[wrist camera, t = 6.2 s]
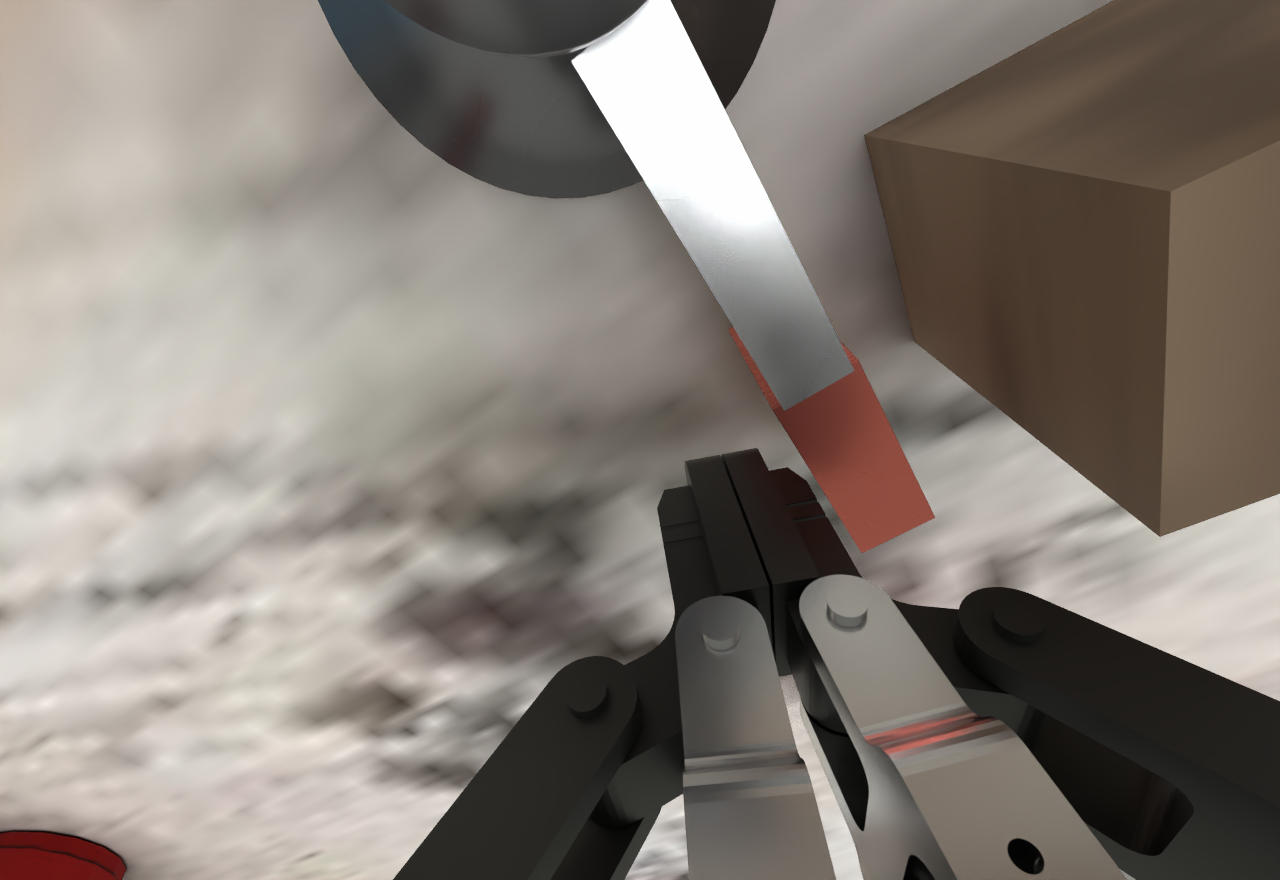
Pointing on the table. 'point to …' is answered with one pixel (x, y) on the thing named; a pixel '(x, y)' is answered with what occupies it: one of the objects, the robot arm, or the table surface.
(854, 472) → the crank
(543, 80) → the base
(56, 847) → the plastic cup
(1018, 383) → the block
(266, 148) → the table surface
